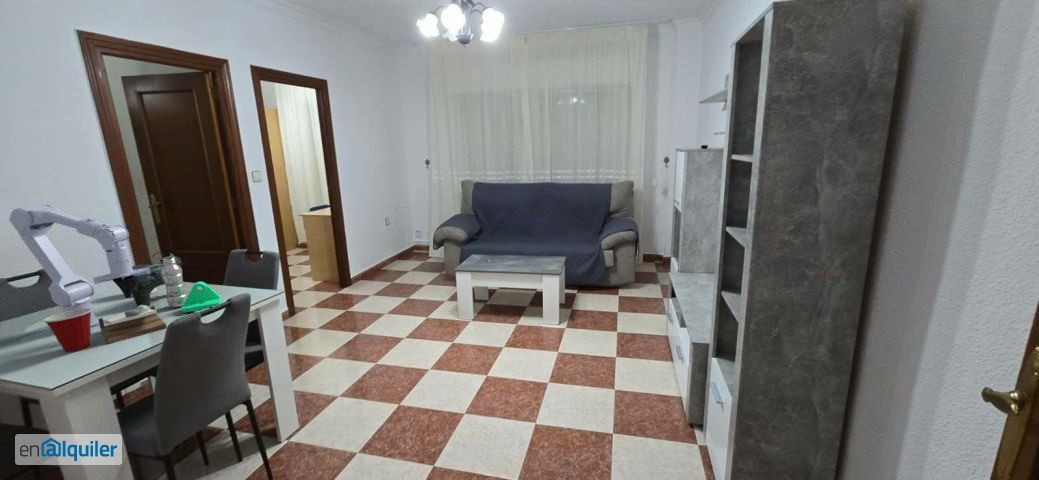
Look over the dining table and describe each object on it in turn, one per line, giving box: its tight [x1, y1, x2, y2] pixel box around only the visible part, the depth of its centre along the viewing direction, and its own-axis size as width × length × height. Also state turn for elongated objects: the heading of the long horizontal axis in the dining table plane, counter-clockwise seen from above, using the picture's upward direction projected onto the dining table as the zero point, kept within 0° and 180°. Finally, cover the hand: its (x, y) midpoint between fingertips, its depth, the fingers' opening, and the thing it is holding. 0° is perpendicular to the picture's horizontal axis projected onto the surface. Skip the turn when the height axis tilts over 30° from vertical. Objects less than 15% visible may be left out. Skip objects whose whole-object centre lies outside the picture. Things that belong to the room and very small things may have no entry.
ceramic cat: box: [131, 251, 183, 307], centre depth 174 cm, size 20×6×20 cm, turn 169°
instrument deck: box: [104, 305, 158, 325], centre depth 147 cm, size 15×12×3 cm
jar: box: [132, 263, 158, 295], centre depth 183 cm, size 9×8×12 cm
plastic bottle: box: [161, 256, 188, 308], centre depth 166 cm, size 6×7×20 cm
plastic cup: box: [42, 307, 93, 353], centre depth 133 cm, size 11×11×12 cm
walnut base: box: [97, 305, 167, 344], centre depth 147 cm, size 16×15×5 cm
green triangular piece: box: [180, 281, 222, 313], centre depth 165 cm, size 12×8×10 cm, turn 120°
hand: (128, 297), depth 149 cm, fingers closed
